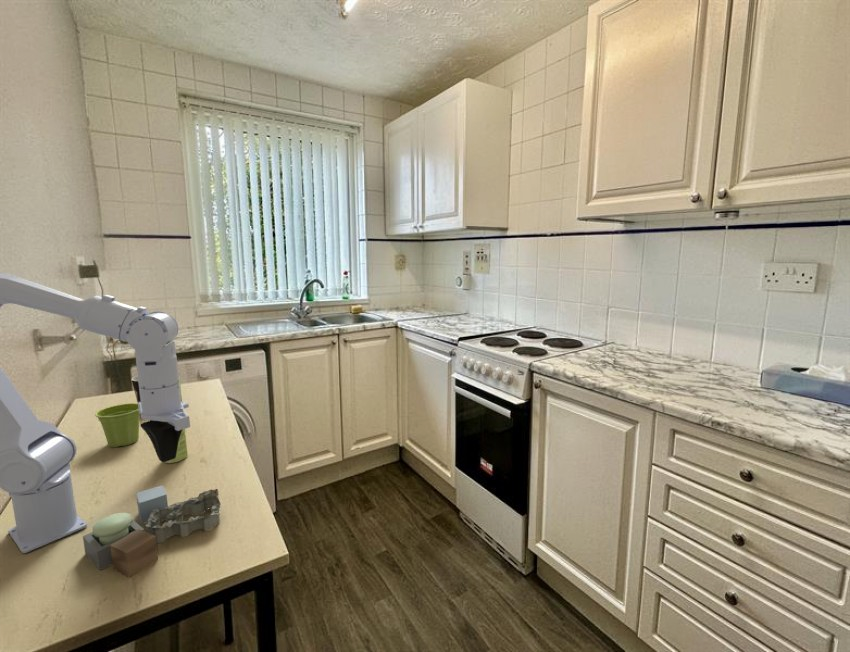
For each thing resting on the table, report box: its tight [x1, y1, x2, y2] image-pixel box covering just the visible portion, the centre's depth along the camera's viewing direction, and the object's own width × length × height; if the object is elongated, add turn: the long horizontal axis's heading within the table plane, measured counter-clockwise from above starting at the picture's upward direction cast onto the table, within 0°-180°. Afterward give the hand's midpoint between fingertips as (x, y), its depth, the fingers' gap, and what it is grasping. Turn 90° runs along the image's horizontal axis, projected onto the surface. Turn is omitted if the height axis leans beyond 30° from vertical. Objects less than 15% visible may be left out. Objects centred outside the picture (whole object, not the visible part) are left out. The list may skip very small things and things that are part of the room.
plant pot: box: [94, 402, 141, 448], centre depth 101 cm, size 9×9×9 cm
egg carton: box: [145, 488, 222, 544], centre depth 69 cm, size 11×8×4 cm
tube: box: [164, 371, 188, 464], centre depth 91 cm, size 6×5×20 cm
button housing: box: [82, 519, 145, 571], centre depth 63 cm, size 6×6×3 cm
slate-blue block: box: [136, 484, 169, 525], centre depth 72 cm, size 4×4×4 cm
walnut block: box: [110, 529, 159, 579], centre depth 60 cm, size 4×4×4 cm
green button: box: [92, 512, 133, 546], centre depth 63 cm, size 5×5×4 cm
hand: (167, 459), depth 71 cm, fingers closed
